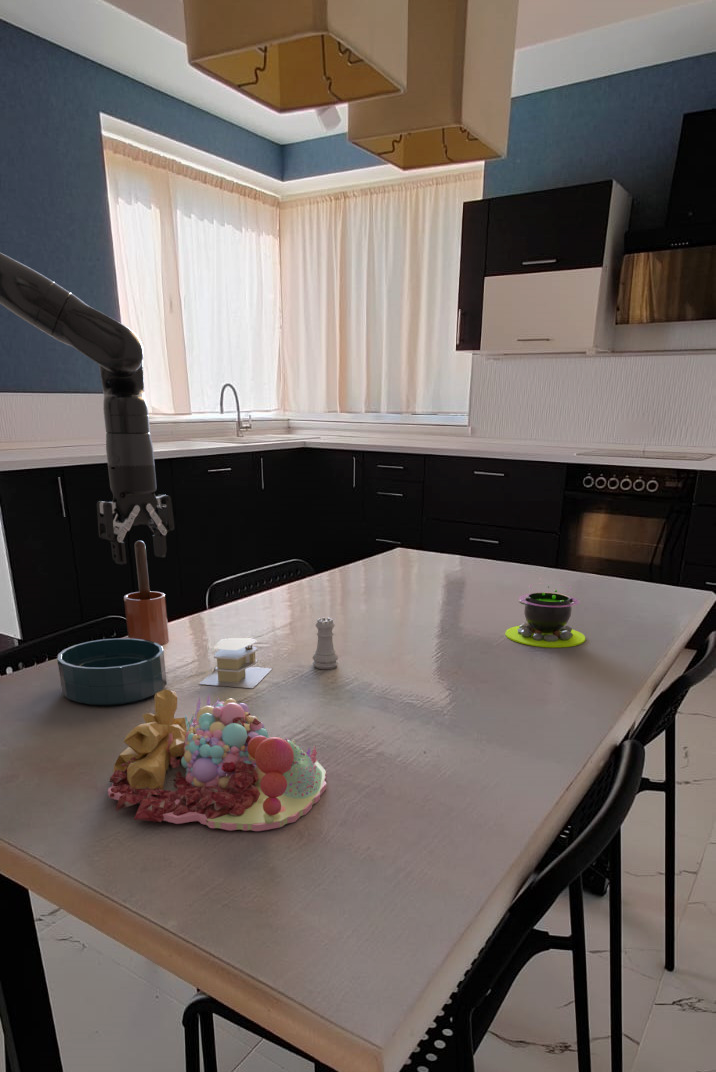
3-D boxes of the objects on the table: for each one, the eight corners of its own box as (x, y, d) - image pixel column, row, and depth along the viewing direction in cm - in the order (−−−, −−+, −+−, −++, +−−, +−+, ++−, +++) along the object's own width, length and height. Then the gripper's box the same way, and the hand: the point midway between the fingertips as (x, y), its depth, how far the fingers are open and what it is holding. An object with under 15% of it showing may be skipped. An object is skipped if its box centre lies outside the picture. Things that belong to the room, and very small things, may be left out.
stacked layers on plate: (253, 688, 119) (251, 654, 117) (198, 684, 121) (196, 650, 119) (272, 668, 128) (271, 636, 126) (221, 664, 130) (219, 633, 128)
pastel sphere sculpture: (77, 828, 80) (65, 747, 76) (146, 737, 101) (138, 670, 98) (317, 836, 79) (316, 754, 75) (335, 742, 100) (334, 675, 97)
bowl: (42, 693, 116) (36, 655, 114) (124, 668, 128) (120, 633, 125) (105, 716, 108) (100, 675, 106) (187, 687, 119) (184, 650, 117)
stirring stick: (140, 640, 140) (129, 540, 133) (148, 638, 141) (137, 539, 134) (151, 643, 138) (140, 542, 131) (158, 641, 140) (149, 540, 133)
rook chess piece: (338, 670, 128) (338, 623, 125) (311, 670, 128) (310, 623, 124) (338, 661, 132) (338, 616, 129) (312, 661, 132) (311, 616, 129)
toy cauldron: (575, 626, 154) (582, 571, 150) (594, 648, 140) (602, 588, 136) (500, 625, 155) (504, 570, 150) (511, 646, 141) (517, 587, 136)
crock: (121, 645, 139) (115, 596, 136) (152, 636, 145) (147, 589, 141) (146, 652, 136) (141, 602, 132) (177, 643, 141) (173, 594, 137)
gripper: (150, 458, 135) (158, 552, 141) (80, 463, 124) (93, 563, 131) (179, 461, 131) (186, 557, 137) (109, 465, 120) (121, 569, 127)
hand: (140, 560), depth 134 cm, fingers open, 8 cm apart
